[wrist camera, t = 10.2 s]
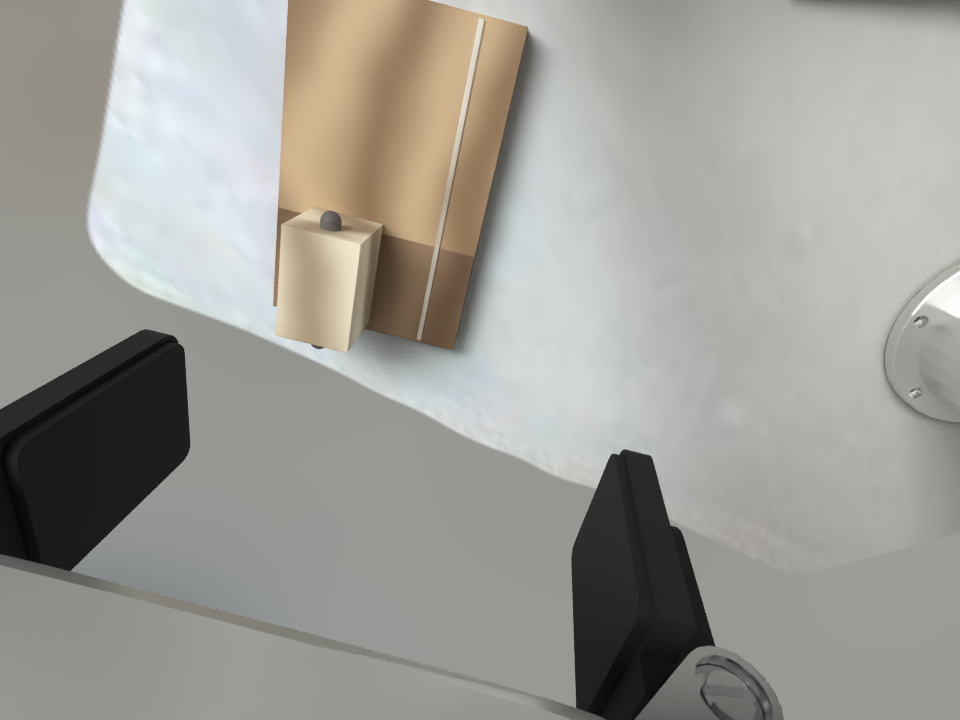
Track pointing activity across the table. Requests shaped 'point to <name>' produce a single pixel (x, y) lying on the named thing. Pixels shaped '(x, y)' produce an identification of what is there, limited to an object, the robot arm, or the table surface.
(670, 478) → the table surface
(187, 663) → the robot arm
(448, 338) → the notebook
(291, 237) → the beige block with knob
